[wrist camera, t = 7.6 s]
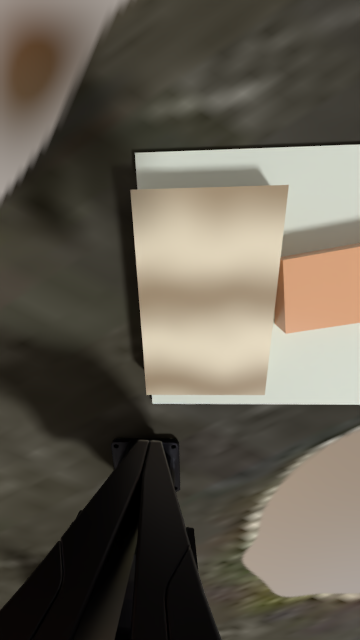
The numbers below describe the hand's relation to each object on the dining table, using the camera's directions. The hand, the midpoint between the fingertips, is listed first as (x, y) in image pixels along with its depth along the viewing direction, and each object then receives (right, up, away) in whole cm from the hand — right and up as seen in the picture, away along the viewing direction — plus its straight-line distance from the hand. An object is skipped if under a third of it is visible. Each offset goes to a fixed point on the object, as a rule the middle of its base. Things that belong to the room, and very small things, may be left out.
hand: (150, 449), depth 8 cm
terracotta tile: (+12, +7, +8) cm, 16 cm away
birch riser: (+3, +6, +9) cm, 12 cm away
